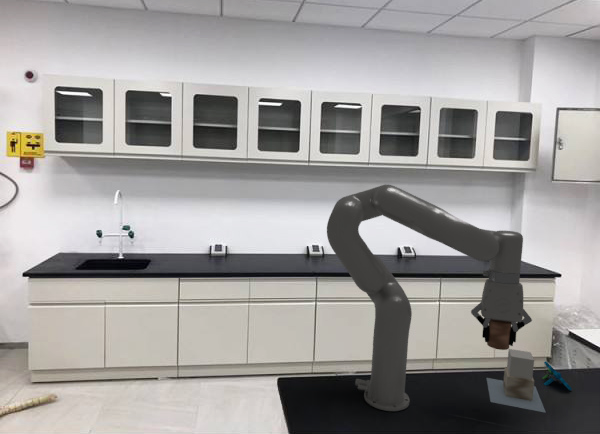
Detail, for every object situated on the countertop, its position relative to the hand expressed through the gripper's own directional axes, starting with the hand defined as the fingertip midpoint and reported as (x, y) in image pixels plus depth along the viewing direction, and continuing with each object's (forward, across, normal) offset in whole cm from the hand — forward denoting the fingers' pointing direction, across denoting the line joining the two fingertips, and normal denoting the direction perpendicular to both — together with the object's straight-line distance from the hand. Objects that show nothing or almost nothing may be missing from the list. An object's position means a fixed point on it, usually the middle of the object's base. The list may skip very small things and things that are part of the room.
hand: (498, 341), depth 121 cm
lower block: (+19, +8, +13) cm, 24 cm away
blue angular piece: (+20, +20, +24) cm, 37 cm away
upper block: (+13, +8, +13) cm, 20 cm away
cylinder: (+1, 0, 0) cm, 1 cm away
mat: (+20, +6, +12) cm, 24 cm away
